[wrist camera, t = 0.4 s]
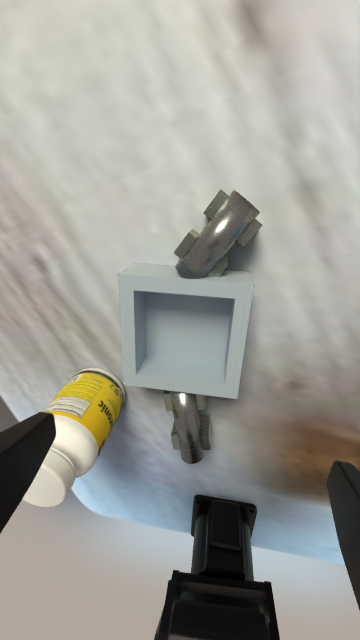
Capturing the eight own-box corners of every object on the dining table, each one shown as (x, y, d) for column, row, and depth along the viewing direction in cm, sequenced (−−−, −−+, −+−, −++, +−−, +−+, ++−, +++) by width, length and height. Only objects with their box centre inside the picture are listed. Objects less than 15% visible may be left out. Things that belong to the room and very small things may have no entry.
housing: (235, 371, 23) (237, 399, 20) (137, 360, 24) (123, 384, 21) (249, 271, 20) (254, 284, 16) (134, 263, 21) (117, 274, 18)
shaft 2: (208, 281, 20) (205, 295, 17) (174, 254, 20) (165, 263, 17) (262, 217, 18) (270, 220, 15) (225, 186, 18) (225, 181, 15)
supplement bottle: (126, 418, 27) (76, 523, 18) (73, 407, 27) (-1, 504, 18) (128, 371, 25) (74, 465, 16) (71, 360, 25) (-13, 445, 16)
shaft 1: (212, 432, 26) (210, 464, 23) (178, 432, 26) (172, 463, 23) (204, 368, 23) (201, 394, 20) (167, 369, 24) (159, 394, 21)
